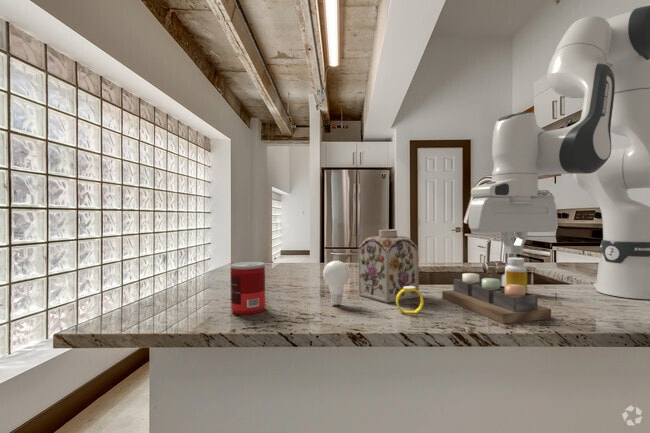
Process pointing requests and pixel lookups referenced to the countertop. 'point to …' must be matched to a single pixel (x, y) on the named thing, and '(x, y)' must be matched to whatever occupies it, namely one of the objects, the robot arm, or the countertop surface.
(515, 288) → the terracotta button
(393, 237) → the decorative jar
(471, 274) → the cream button
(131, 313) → the countertop surface
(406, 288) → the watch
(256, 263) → the canned food
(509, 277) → the supplement bottle
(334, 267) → the lightbulb
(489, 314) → the button board
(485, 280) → the sage button
